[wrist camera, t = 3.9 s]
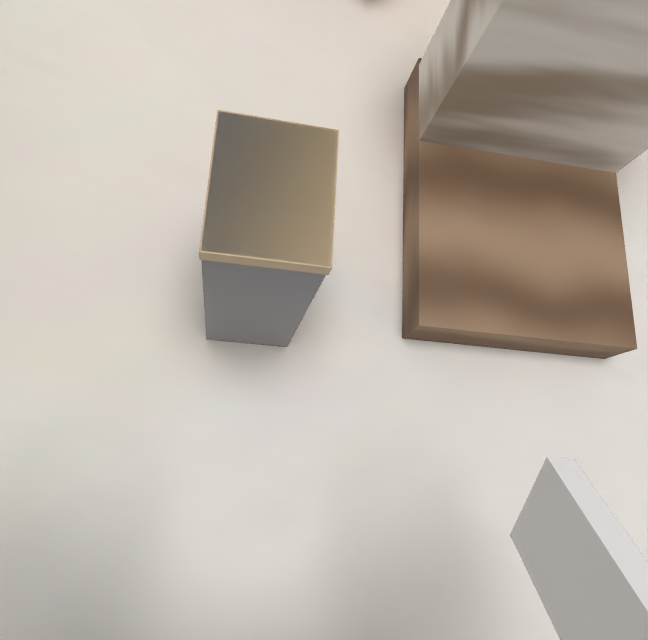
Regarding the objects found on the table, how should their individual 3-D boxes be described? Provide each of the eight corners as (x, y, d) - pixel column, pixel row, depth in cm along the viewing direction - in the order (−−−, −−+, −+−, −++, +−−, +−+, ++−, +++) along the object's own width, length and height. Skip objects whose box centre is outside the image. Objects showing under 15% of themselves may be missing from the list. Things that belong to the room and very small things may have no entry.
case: (287, 348, 27) (331, 268, 17) (205, 340, 27) (198, 251, 16) (294, 255, 29) (338, 130, 19) (216, 245, 28) (217, 109, 18)
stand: (606, 358, 31) (1048, 222, 14) (400, 337, 29) (644, 151, 12) (581, 120, 35) (893, -187, 19) (403, 87, 33) (582, -288, 17)
